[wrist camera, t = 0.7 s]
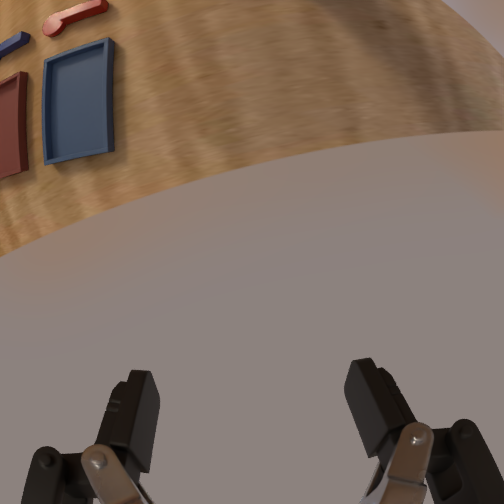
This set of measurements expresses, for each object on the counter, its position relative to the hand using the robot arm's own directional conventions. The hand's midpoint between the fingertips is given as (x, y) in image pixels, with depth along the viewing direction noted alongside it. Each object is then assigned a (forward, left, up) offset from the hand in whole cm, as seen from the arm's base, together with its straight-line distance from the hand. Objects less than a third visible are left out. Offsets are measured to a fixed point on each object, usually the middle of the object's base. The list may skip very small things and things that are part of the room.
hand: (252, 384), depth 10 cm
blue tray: (-17, -20, -27) cm, 37 cm away
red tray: (-17, -35, -27) cm, 47 cm away
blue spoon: (-31, -36, -27) cm, 54 cm away
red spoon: (-31, -22, -27) cm, 46 cm away
